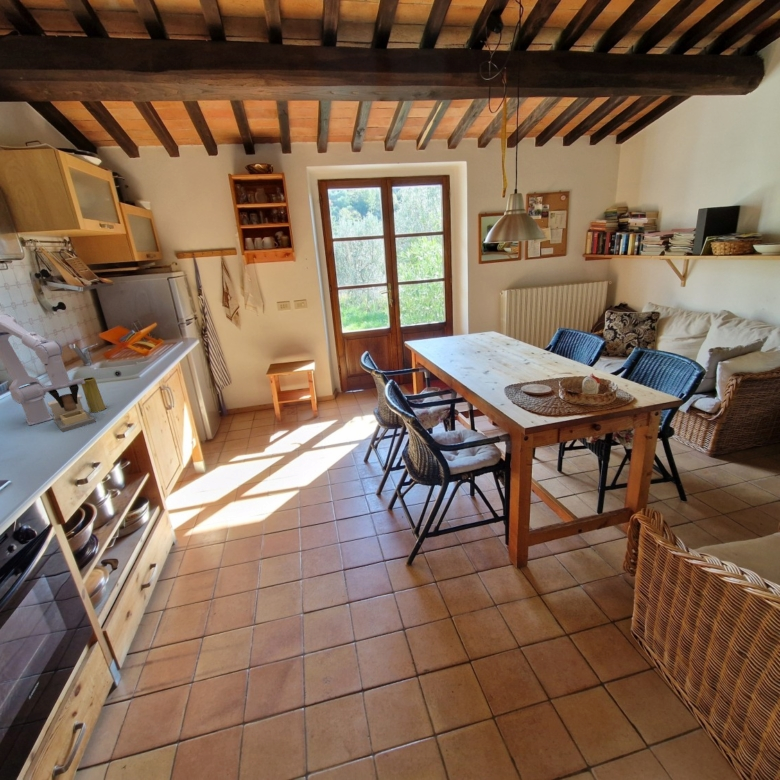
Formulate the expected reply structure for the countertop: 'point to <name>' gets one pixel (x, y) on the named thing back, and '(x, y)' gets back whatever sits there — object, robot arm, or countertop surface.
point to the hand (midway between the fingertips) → (69, 405)
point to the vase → (93, 395)
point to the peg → (68, 402)
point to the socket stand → (70, 416)
